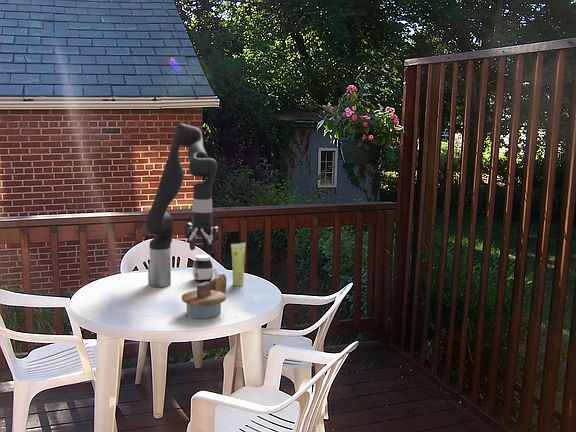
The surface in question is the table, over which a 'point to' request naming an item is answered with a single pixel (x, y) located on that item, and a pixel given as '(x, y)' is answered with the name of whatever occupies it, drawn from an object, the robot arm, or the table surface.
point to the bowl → (203, 311)
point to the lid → (203, 295)
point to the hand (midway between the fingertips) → (201, 251)
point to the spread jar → (203, 269)
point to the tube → (238, 263)
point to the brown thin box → (219, 283)
